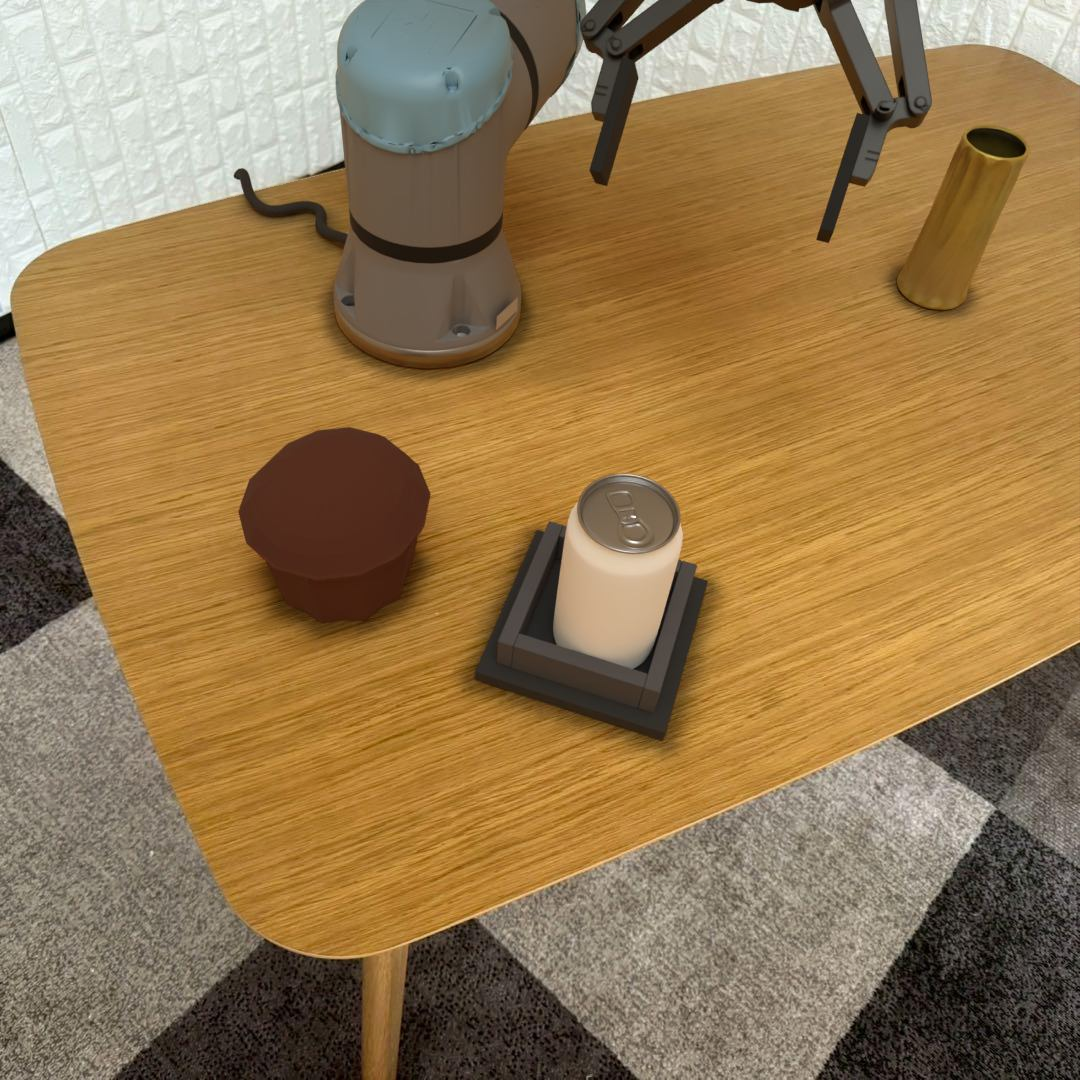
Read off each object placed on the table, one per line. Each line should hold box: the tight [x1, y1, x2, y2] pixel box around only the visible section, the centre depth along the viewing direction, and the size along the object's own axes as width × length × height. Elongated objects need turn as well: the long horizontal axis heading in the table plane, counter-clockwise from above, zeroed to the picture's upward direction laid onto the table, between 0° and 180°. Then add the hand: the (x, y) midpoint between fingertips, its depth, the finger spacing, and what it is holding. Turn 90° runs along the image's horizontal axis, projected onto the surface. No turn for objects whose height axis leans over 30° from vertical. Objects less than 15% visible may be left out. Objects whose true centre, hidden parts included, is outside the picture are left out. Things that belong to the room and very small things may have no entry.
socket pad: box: [474, 520, 709, 741], centre depth 64 cm, size 12×12×4 cm
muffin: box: [237, 426, 432, 624], centre depth 63 cm, size 12×11×10 cm
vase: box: [896, 124, 1031, 311], centre depth 85 cm, size 6×6×14 cm
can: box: [553, 472, 684, 669], centre depth 59 cm, size 6×6×12 cm
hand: (709, 207), depth 59 cm, fingers open, 13 cm apart
